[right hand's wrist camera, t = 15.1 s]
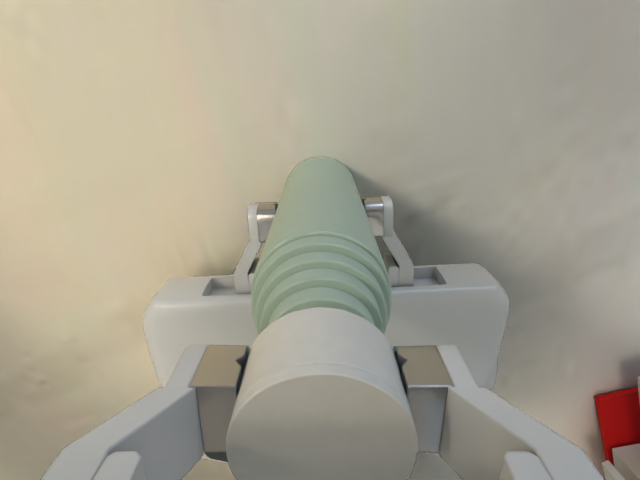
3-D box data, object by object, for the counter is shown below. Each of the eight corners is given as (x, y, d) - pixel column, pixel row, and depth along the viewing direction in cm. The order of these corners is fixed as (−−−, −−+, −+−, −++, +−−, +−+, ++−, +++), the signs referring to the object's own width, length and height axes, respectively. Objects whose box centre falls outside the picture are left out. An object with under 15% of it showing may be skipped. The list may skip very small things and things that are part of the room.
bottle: (270, 189, 27) (155, 429, 8) (323, 141, 26) (334, 289, 7) (317, 239, 29) (312, 548, 10) (370, 195, 28) (484, 444, 8)
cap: (214, 366, 10) (184, 446, 8) (329, 275, 9) (331, 336, 7) (315, 452, 11) (313, 545, 9) (427, 377, 10) (457, 459, 8)
